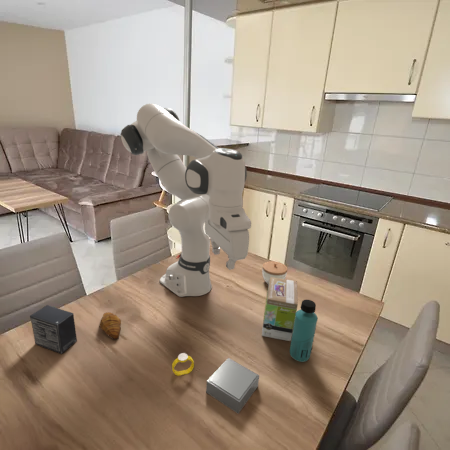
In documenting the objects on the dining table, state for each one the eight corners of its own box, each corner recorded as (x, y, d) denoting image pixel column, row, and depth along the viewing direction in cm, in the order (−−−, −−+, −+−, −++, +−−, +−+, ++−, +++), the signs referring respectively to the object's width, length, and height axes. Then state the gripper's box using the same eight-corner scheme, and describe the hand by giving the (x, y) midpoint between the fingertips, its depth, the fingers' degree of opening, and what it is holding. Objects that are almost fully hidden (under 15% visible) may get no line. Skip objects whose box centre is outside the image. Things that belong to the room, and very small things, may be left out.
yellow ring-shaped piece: (173, 380, 83) (172, 363, 81) (172, 372, 86) (170, 355, 83) (195, 374, 85) (194, 357, 83) (192, 366, 87) (191, 350, 85)
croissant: (95, 320, 104) (94, 307, 102) (115, 314, 108) (115, 302, 106) (104, 345, 93) (103, 331, 92) (127, 337, 97) (126, 324, 95)
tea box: (291, 342, 100) (298, 304, 94) (261, 336, 101) (266, 298, 96) (291, 314, 113) (297, 280, 108) (264, 309, 115) (269, 275, 110)
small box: (78, 340, 94) (75, 312, 91) (61, 354, 89) (57, 325, 85) (52, 331, 97) (47, 303, 94) (34, 344, 92) (28, 315, 88)
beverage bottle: (297, 369, 89) (308, 312, 82) (283, 353, 95) (292, 299, 87) (314, 362, 92) (326, 306, 85) (299, 347, 97) (309, 294, 90)
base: (206, 392, 80) (206, 380, 78) (227, 368, 88) (228, 357, 86) (238, 413, 75) (239, 401, 73) (257, 386, 83) (259, 374, 81)
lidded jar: (256, 283, 132) (258, 264, 129) (266, 273, 141) (269, 255, 138) (279, 292, 127) (282, 272, 124) (288, 281, 136) (291, 262, 132)
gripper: (200, 203, 87) (199, 247, 92) (231, 227, 70) (228, 280, 74) (220, 201, 90) (218, 244, 94) (255, 224, 72) (250, 275, 77)
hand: (222, 260), depth 84 cm, fingers open, 8 cm apart
